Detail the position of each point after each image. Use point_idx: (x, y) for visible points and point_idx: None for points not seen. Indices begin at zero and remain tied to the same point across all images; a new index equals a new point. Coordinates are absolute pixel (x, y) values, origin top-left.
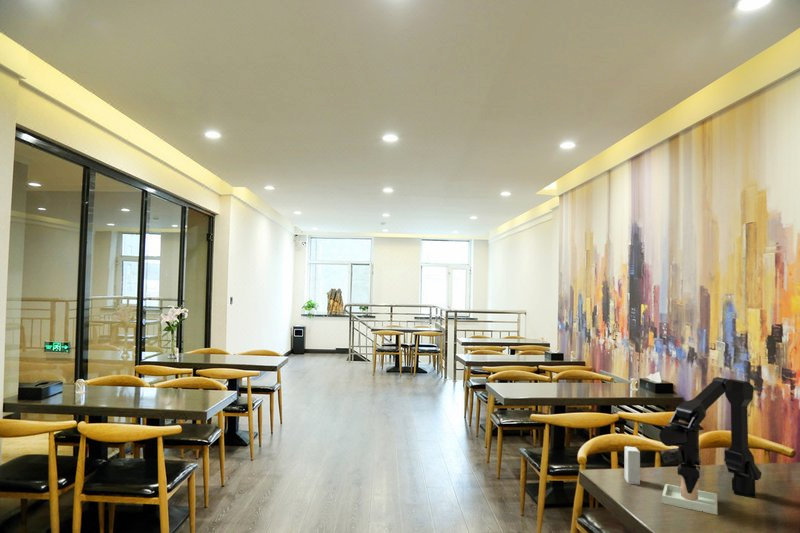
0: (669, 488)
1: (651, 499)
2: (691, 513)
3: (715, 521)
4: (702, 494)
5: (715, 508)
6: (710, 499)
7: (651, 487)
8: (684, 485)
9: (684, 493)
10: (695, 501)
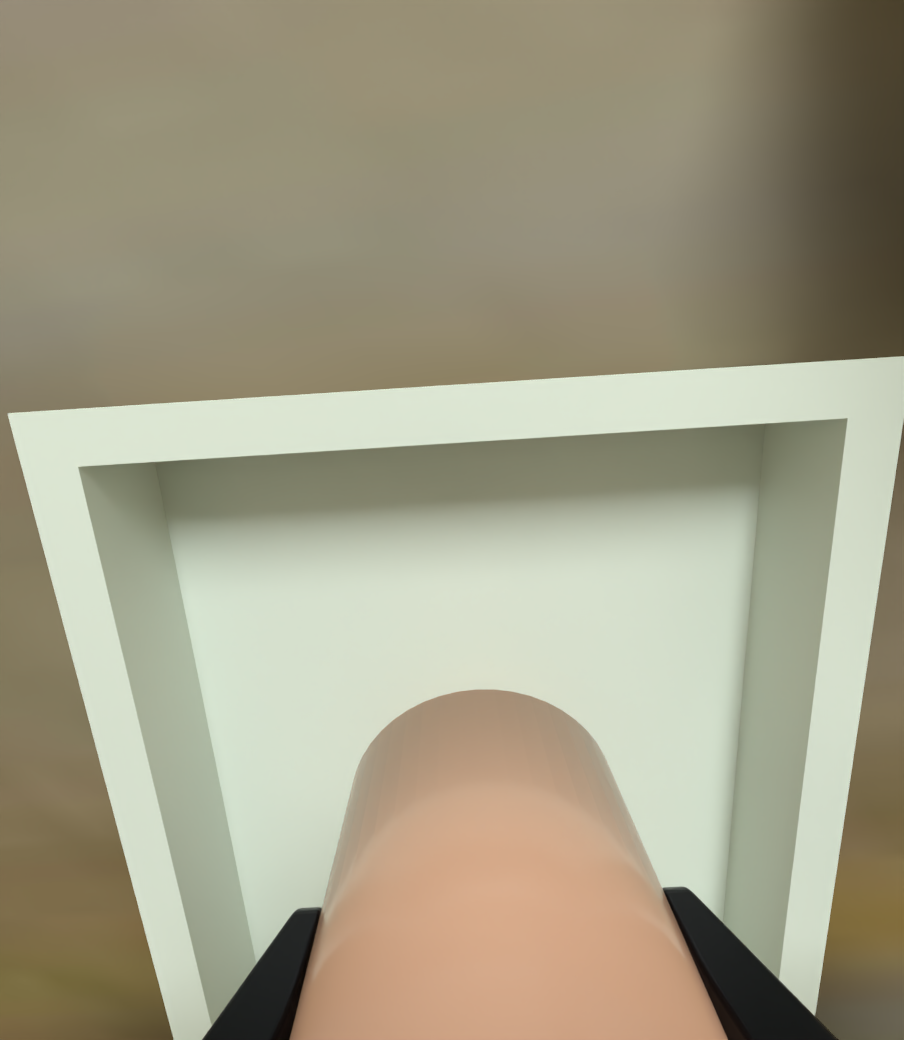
0: (793, 450)
1: (157, 206)
2: (47, 801)
3: (20, 1015)
4: (751, 929)
5: None
6: None
7: (873, 79)
8: (304, 1013)
9: (353, 811)
10: (185, 941)
